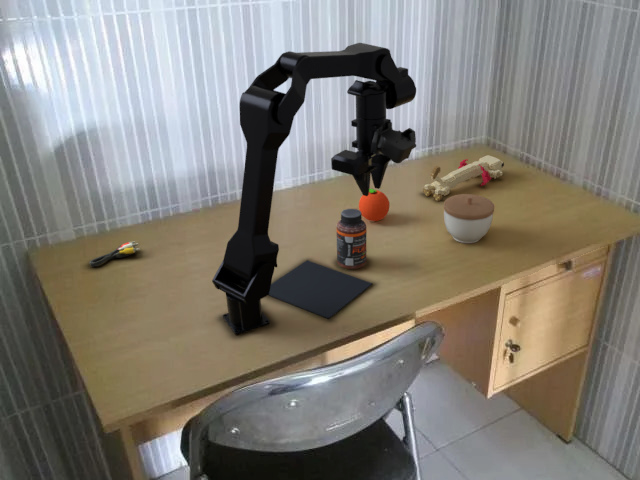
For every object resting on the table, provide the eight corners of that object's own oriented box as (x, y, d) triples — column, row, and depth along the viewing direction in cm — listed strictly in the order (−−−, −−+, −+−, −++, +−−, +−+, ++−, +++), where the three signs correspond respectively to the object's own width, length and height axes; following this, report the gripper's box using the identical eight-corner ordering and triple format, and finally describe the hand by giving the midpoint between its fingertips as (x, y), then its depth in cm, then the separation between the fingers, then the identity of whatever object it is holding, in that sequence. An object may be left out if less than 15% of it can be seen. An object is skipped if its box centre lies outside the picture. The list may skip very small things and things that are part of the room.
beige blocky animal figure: (445, 209, 162) (514, 175, 175) (445, 176, 157) (516, 143, 170) (417, 196, 168) (485, 163, 181) (416, 163, 163) (486, 132, 176)
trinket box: (433, 241, 146) (435, 201, 141) (454, 221, 154) (456, 183, 149) (480, 253, 142) (483, 212, 137) (498, 232, 150) (502, 193, 145)
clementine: (350, 216, 155) (349, 187, 151) (375, 208, 159) (374, 180, 155) (370, 229, 150) (370, 200, 146) (395, 221, 154) (396, 192, 150)
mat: (307, 261, 138) (307, 260, 138) (372, 284, 131) (372, 283, 131) (260, 292, 128) (260, 291, 128) (328, 319, 121) (328, 317, 121)
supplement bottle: (355, 273, 134) (354, 222, 128) (331, 265, 137) (329, 214, 130) (372, 261, 138) (372, 210, 132) (348, 253, 141) (347, 203, 135)
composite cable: (92, 269, 134) (89, 258, 132) (86, 258, 137) (83, 247, 136) (142, 256, 138) (140, 245, 137) (136, 246, 142) (133, 235, 140)
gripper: (379, 138, 117) (379, 219, 125) (433, 109, 130) (429, 185, 139) (327, 125, 122) (331, 204, 130) (384, 99, 135) (384, 173, 144)
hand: (371, 191), depth 136 cm, fingers open, 4 cm apart
